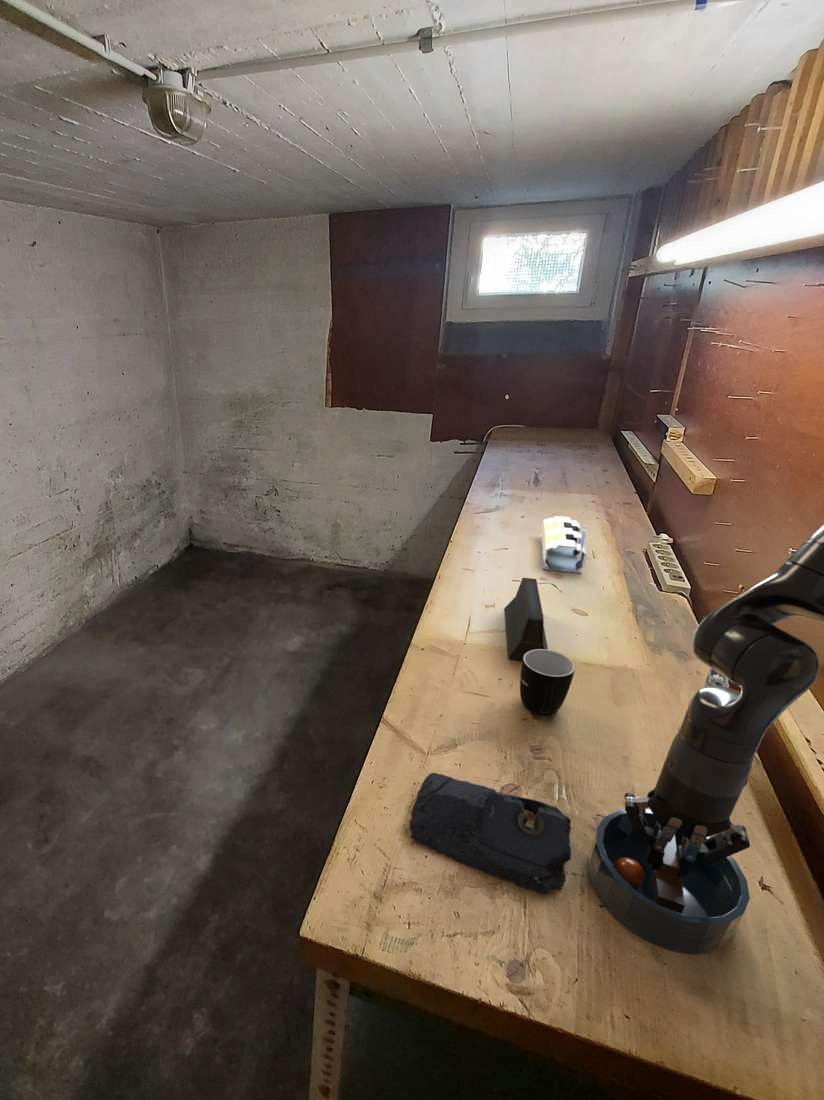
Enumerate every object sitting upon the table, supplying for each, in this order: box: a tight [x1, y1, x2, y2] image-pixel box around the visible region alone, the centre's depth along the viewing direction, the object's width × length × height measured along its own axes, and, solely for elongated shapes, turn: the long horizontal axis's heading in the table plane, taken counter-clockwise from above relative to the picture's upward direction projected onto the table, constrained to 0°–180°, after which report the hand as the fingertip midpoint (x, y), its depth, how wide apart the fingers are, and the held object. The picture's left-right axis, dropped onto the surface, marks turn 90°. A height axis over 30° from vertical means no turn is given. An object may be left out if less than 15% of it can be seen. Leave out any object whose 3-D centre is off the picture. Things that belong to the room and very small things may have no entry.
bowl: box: [587, 808, 751, 955], centre depth 74 cm, size 17×17×6 cm
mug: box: [519, 649, 576, 716], centre depth 106 cm, size 12×9×10 cm
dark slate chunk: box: [409, 772, 572, 894], centre depth 84 cm, size 15×22×5 cm
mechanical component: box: [703, 667, 730, 688], centre depth 101 cm, size 3×10×10 cm, turn 145°
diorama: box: [540, 515, 587, 574], centre depth 169 cm, size 25×10×13 cm, turn 159°
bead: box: [613, 857, 644, 888], centre depth 75 cm, size 4×4×4 cm
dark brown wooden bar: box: [652, 821, 685, 914], centre depth 73 cm, size 12×3×3 cm, turn 153°
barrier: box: [503, 577, 549, 661], centre depth 130 cm, size 24×9×10 cm, turn 162°
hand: (663, 867), depth 73 cm, fingers closed on dark brown wooden bar, 2 cm apart
